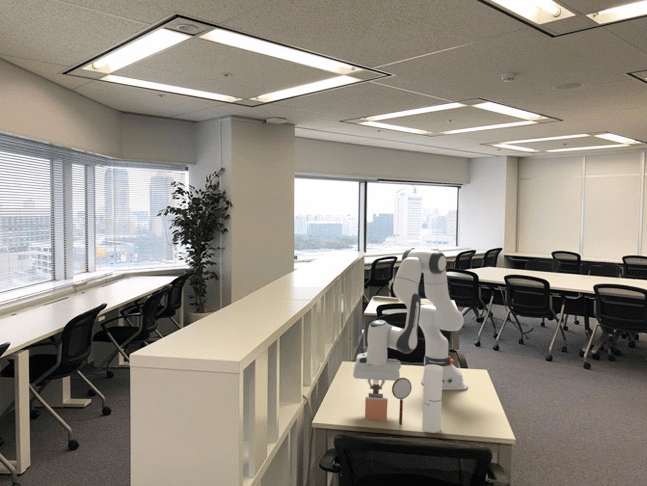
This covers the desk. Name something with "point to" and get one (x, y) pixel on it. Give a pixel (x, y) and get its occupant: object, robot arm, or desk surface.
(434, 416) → the cylindrical container
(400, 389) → the magnifying glass
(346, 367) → the desk surface
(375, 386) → the turner
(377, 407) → the glazed tile
